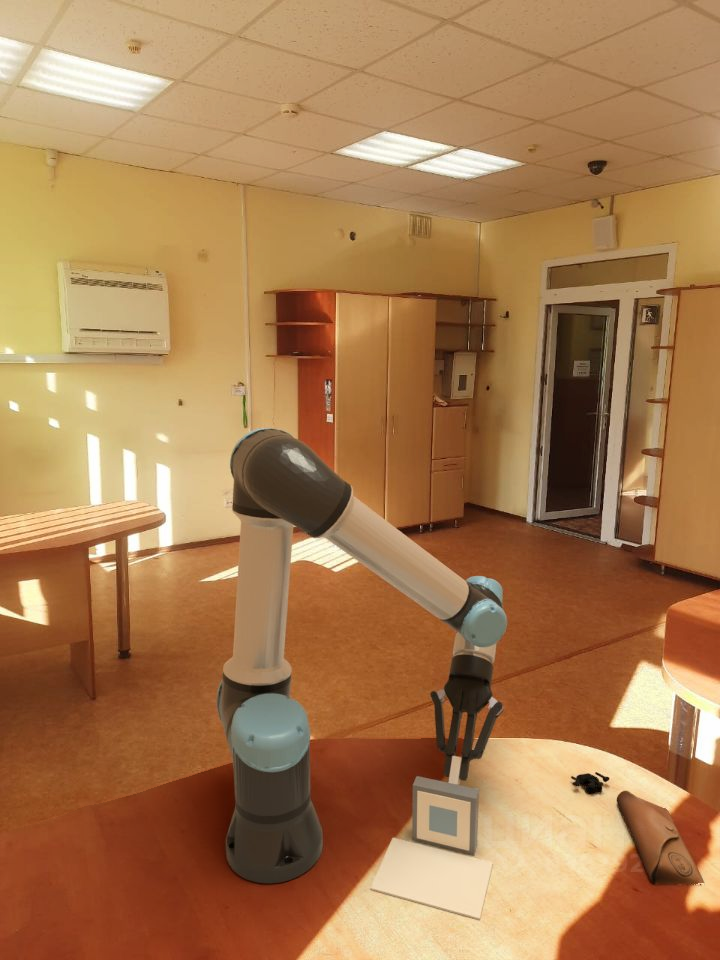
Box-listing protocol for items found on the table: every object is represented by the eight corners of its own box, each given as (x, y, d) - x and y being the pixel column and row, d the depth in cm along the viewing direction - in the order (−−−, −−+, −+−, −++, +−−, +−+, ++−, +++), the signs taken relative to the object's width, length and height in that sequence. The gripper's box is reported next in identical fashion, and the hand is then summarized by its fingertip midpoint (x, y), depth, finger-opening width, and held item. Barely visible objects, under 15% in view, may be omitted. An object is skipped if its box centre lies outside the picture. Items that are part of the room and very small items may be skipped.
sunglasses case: (710, 887, 100) (689, 851, 99) (666, 906, 101) (645, 871, 100) (665, 805, 118) (647, 774, 117) (628, 822, 119) (609, 792, 118)
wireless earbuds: (599, 770, 126) (614, 777, 121) (600, 784, 125) (616, 792, 121) (564, 775, 124) (578, 783, 119) (566, 790, 124) (580, 798, 119)
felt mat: (370, 889, 100) (370, 887, 100) (392, 839, 110) (392, 837, 110) (479, 920, 95) (479, 918, 95) (492, 863, 105) (493, 862, 105)
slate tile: (411, 841, 110) (412, 785, 108) (416, 830, 112) (416, 776, 110) (474, 856, 106) (475, 799, 104) (477, 845, 109) (478, 789, 107)
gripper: (511, 672, 125) (494, 812, 113) (440, 662, 129) (417, 795, 117) (507, 658, 119) (489, 804, 107) (434, 647, 123) (408, 786, 111)
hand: (451, 799), depth 112 cm, fingers closed
